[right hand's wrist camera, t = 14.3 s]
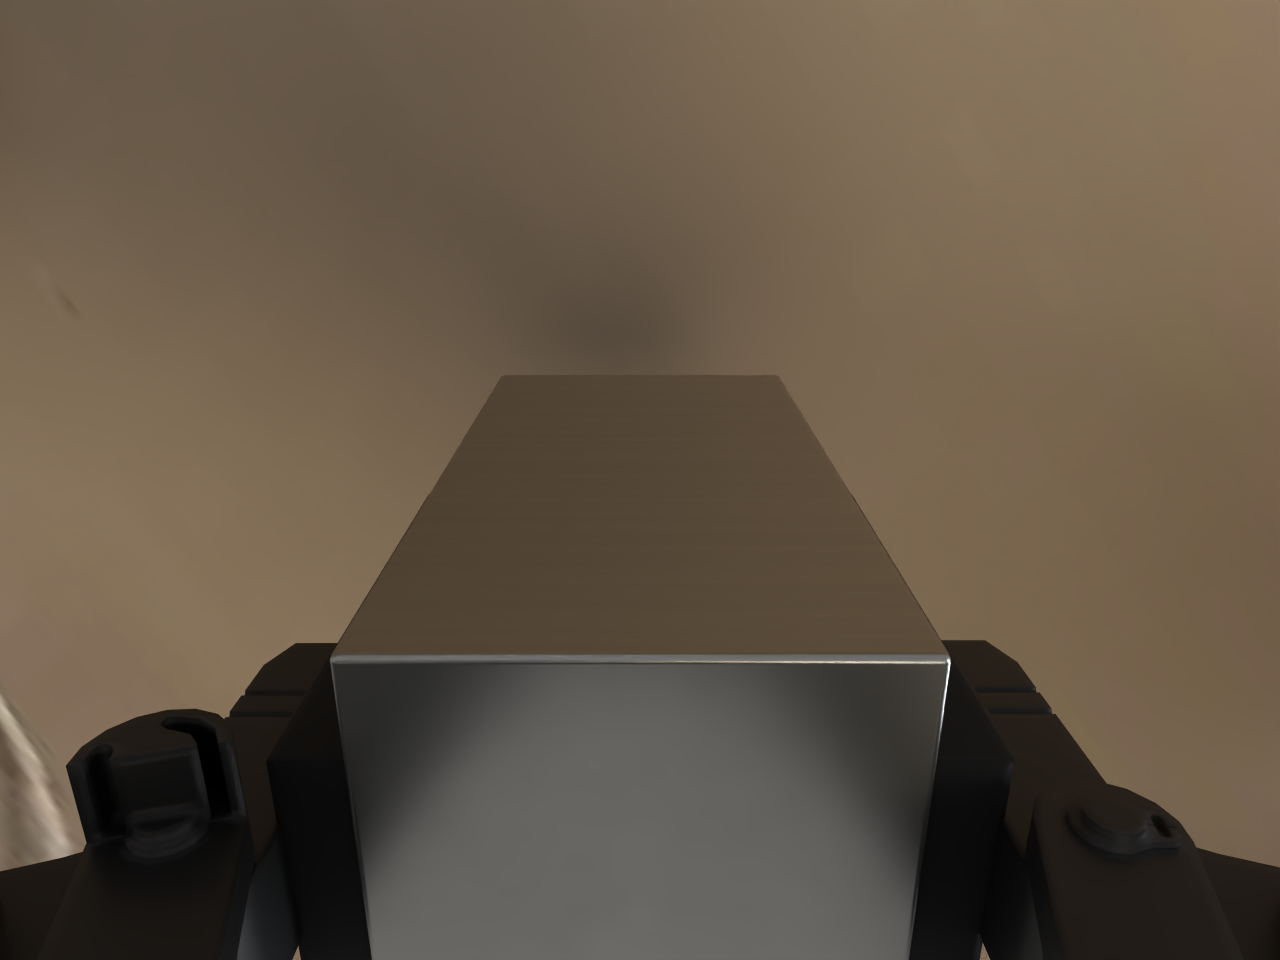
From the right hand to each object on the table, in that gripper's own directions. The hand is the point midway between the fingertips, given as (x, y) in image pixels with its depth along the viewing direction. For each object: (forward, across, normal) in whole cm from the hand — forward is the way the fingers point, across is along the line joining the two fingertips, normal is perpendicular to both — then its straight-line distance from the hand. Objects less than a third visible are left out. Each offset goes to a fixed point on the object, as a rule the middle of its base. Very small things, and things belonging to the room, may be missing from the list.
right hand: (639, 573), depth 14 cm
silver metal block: (+3, 0, 0) cm, 3 cm away
